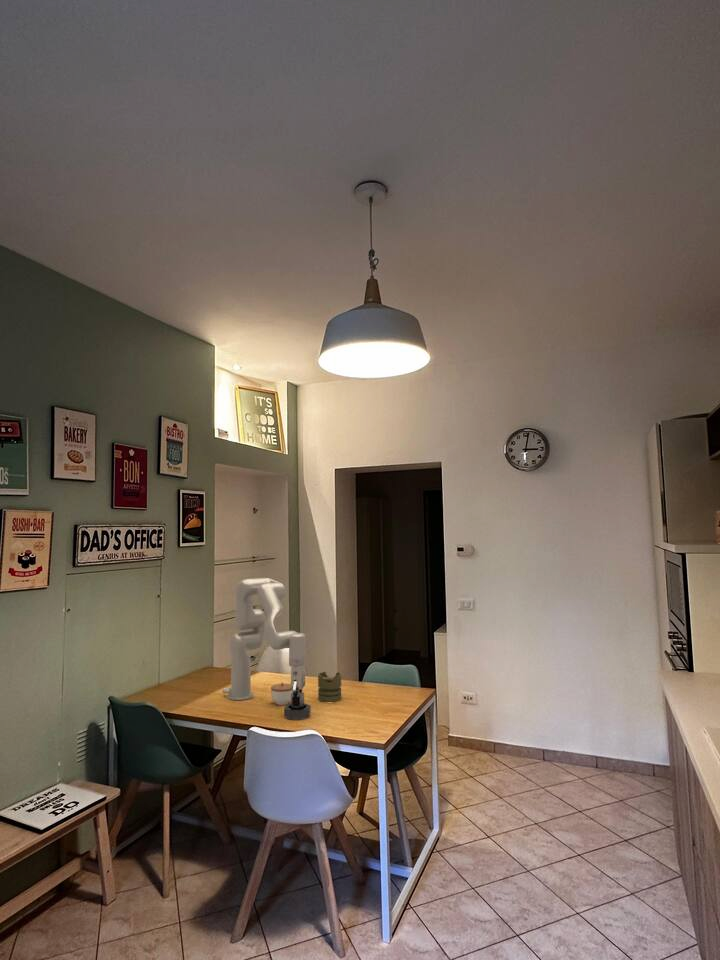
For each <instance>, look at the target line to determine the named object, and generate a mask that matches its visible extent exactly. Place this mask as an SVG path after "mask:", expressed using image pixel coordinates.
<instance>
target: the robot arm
mask: <svg viewBox="0 0 720 960" xmlns="http://www.w3.org/2000/svg"><path fill="white" fill-rule="evenodd" d="M286 595H287V589H286V586H285V585H284V584H283V583H281V582H280V581H278V580H274V579H272V578H269V577H260V578H259V577H258V578H257V577H256V578H255V577H253V578H246V579H242V580H239V582H238V583H237V584H236V586H235V598H236V602H235V604H236V605H235V615H234V628H236V629H237V630H240V631H238V632H236V633H233V634H232V635H231V636H230V638H229V649H230V657H231V660H230V661H231V663H230V664H231V667H230V669H231V670H230V687H229V688H228V687H223V688H222V693H223V694H227V698H228V699H229V700H230V701H245V700H246V701H247V700H249V699H253V697H254V696H255V695H254V694H255V693H254V692H252V691H251V683H252V682H251V672H252V671H251V670H252V669H251V667H252V665H251V664H252V663H251V657H250V655H249V653H248V651H253V650H258V649H260V648H262V647H263V645H264V640H265V638H266V640H267V643H268V644H269V647H270V648H271V649H272V650H273V651H277V650H278V651H280V650H284V649H288V652H289V653H288V666H289V667H290V684H291V689H292V690H293V694H292V706H299V705H300V696H299V692H302V693H303V688H304V687H305V686H306V671H305V667H306V665H307V636H306V634H305V633H303V632H297V631H295V630H286V631H285V630H283V631H279V632H278V631H277V630H276V628H275V625H274V621H275V620H276V619H277V618H279V617H280V616H281V615H282V614H283V613H284V607H283V604H282V601H281V600H283V599H285V598H286ZM252 596H253V597H258V598H259V601H260V604H261V606H262V607H263V610H264V611H263V610H262V609H260V608H254V599H253V598H252ZM297 692H298V693H297Z"/></svg>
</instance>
